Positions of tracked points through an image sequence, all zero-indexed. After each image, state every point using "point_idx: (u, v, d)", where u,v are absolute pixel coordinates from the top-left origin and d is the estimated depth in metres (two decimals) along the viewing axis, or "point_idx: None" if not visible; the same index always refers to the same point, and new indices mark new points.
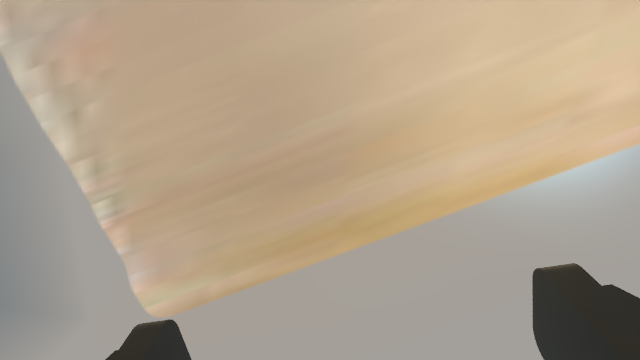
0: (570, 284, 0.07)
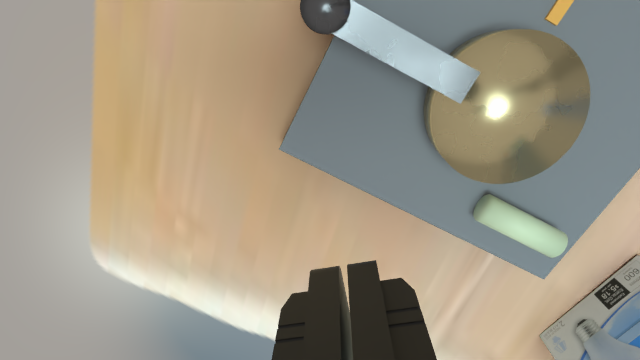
0: (358, 277, 0.08)
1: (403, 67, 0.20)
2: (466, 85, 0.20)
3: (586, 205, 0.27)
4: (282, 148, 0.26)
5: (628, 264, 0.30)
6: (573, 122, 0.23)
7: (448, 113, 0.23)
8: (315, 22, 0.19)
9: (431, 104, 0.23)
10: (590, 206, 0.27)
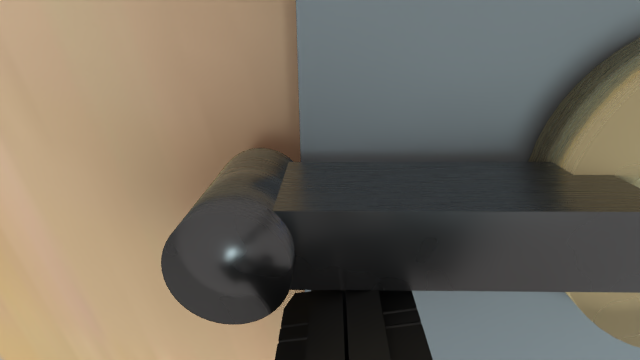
0: None
1: (476, 282, 0.08)
2: None
3: None
4: None
5: None
6: None
7: None
8: (224, 308, 0.07)
9: None
10: None
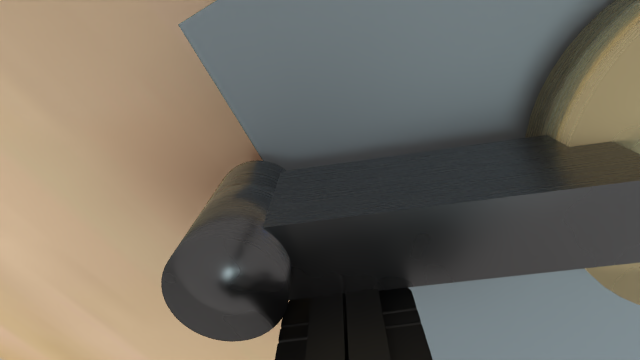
0: None
1: (476, 270, 0.08)
2: None
3: None
4: None
5: None
6: None
7: None
8: (229, 326, 0.08)
9: None
10: None
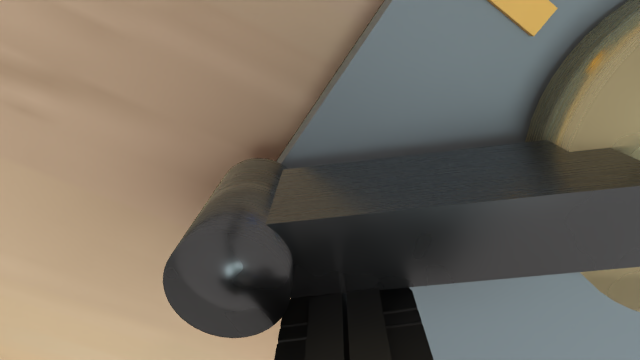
0: None
1: (477, 271, 0.08)
2: None
3: None
4: None
5: None
6: None
7: None
8: (229, 323, 0.08)
9: None
10: None
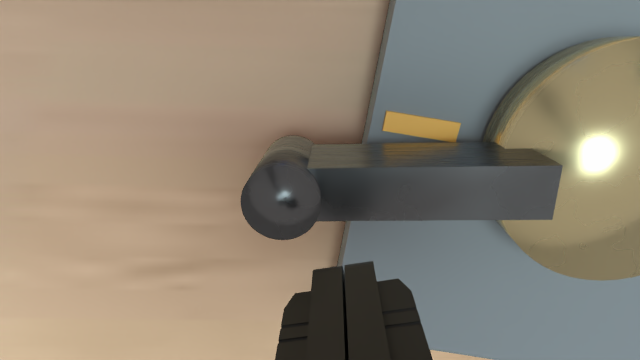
0: (355, 278, 0.08)
1: (436, 214, 0.12)
2: (548, 192, 0.12)
3: None
4: None
5: None
6: None
7: None
8: (277, 229, 0.12)
9: None
10: None
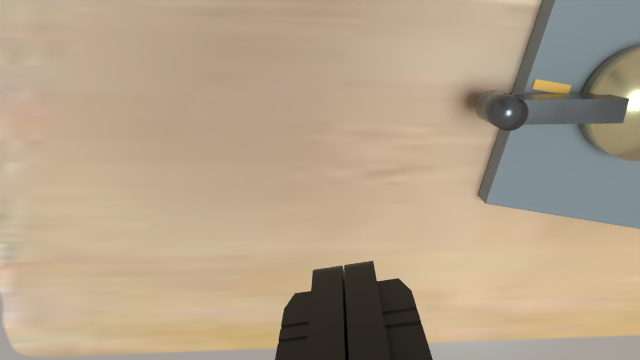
0: (355, 278, 0.08)
1: (573, 121, 0.28)
2: (622, 110, 0.28)
3: None
4: None
5: None
6: None
7: (608, 127, 0.30)
8: (507, 126, 0.28)
9: (592, 127, 0.31)
10: None
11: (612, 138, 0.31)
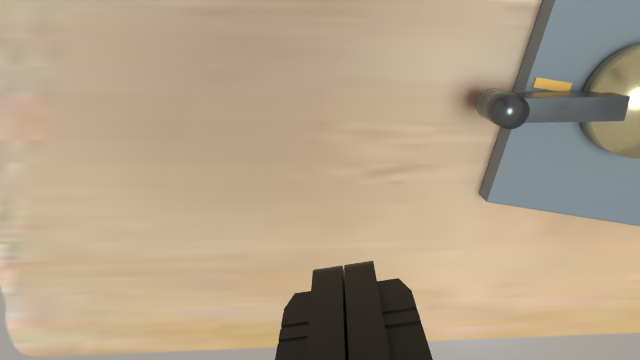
0: (355, 278, 0.08)
1: (574, 119, 0.28)
2: (623, 108, 0.28)
3: None
4: None
5: None
6: None
7: (609, 125, 0.31)
8: (508, 124, 0.28)
9: (593, 125, 0.31)
10: None
11: (613, 136, 0.31)
